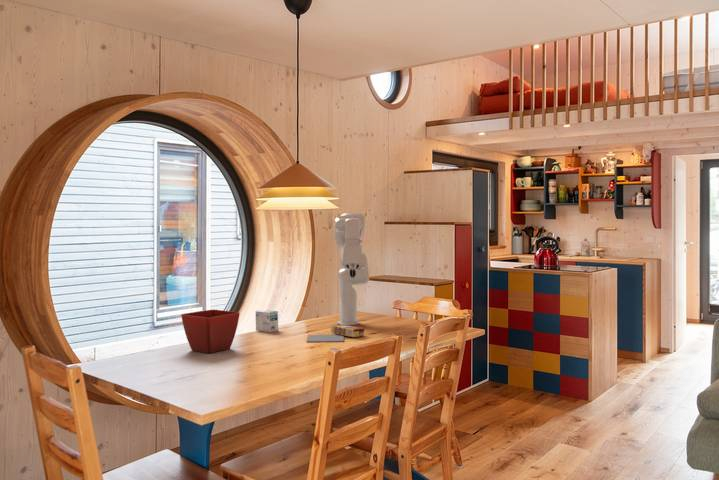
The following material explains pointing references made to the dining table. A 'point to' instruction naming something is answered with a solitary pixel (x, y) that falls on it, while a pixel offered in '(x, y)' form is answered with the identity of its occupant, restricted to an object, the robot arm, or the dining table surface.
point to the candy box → (347, 330)
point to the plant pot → (210, 329)
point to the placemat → (325, 338)
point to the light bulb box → (266, 320)
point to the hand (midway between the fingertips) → (352, 277)
